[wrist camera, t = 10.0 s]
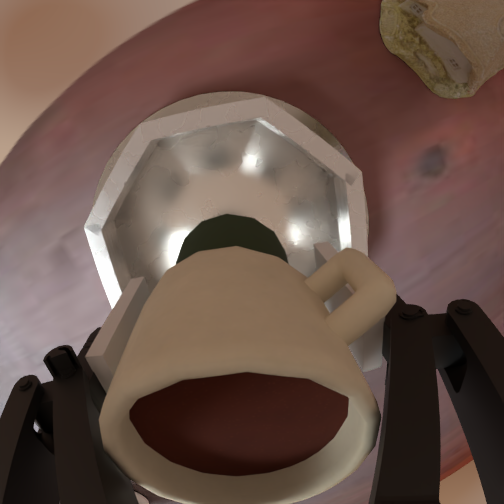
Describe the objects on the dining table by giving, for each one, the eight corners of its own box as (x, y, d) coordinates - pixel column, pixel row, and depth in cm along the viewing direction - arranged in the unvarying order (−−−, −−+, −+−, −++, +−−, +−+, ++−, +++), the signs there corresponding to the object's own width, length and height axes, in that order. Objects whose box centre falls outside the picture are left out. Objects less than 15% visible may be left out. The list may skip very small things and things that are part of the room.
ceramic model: (439, 125, 21) (529, 131, 12) (354, 15, 18) (422, -39, 8) (505, 56, 19) (577, 50, 9) (441, -35, 15) (503, -68, 6)
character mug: (210, 350, 21) (204, 534, 8) (128, 281, 18) (35, 455, 6) (339, 244, 19) (474, 393, 6) (260, 153, 17) (351, 189, 4)
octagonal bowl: (141, 369, 26) (135, 391, 24) (65, 135, 19) (46, 136, 16) (369, 328, 27) (381, 346, 24) (348, 77, 19) (364, 69, 17)
